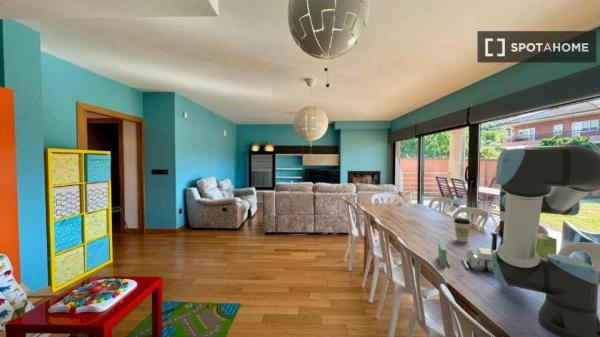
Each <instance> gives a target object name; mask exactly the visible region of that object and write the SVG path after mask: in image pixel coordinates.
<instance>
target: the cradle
mask: <svg viewBox="0 0 600 337" xmlns="http://www.w3.org/2000/svg"><path fill="white" fill-rule="evenodd" d="M461 262H462V264H463V265H464V267H465V270H466V271H470V269H469V268H470V267H469V265H468V263H467V262H466V259H465V258H464V257H461ZM446 266H447V267H448V268H451V263H450V261H449V257H448V255H446Z"/></svg>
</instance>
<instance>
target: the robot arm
mask: <svg viewBox="0 0 600 337" xmlns="http://www.w3.org/2000/svg"><path fill="white" fill-rule="evenodd" d="M495 183H496V184H498V185H500V189H499V219H500V220H499V223H498V224H499V225H498V227H499V229H498V231H497V232H491V233H490V235H491V237H492V238H491V247H490V249H491V253H492V262H493V271H494V274H493V277H494V279H495V281H496V282H497V283H499V284H502V285H506V286H508V287H514V288H518V289H523V290H527V291H534V292H538V293H543V294H545V300H544V301H543V303H542V305H541V307H540V309H539V310H538V322H539V323H540V324H541V325H542V326H543V327H544V328H545V329H547V330H549V331H551V332H552V333H554V334H556V335H558V336H561V337H600V317H599V315H598V300H599V299H598V294H599V284H600V282H599V274H598V270H597V269H596V268H595V267H594V266H592V265H590V264H589V263H587V262H585V261H583V260H579V259H577V258H573V257H569V256H566V255H563V254H558V253H556V254H548V255H547V256H546V258H540V256H539V254H538V253H537V252H536V251H535V250H536V243H537V236H538V234H539V228H540V221H541V214H549V215H561V216H576V215H579V211H580V208H581V204H580V201H582V200H583V199H584V197H586V196H588V195H589V194H590V193H592V192H597V191H598V190H600V152H599V151H596V150H594V149H592V148H588V147H586V146H585V147H584V146H582V145H576V144H575V145H572V144H565V145H531V146H525V145H519V146H511V147H505V148H503V149H502V150H501V152H500V154H499V157H498V159H497V164H496V172H495ZM498 237H500V238H501V239H500V243H499V245H498V246H497V244H498ZM496 249H497V250H496Z"/></svg>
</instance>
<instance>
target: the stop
mask: <svg viewBox="0 0 600 337" xmlns="http://www.w3.org/2000/svg"><path fill="white" fill-rule="evenodd" d="M446 256H447V248H446V245H445V242H444V241H438V260H439V263H440V264H439V265H440V266H441V267H443V268H445V267H447V262H446Z"/></svg>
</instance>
